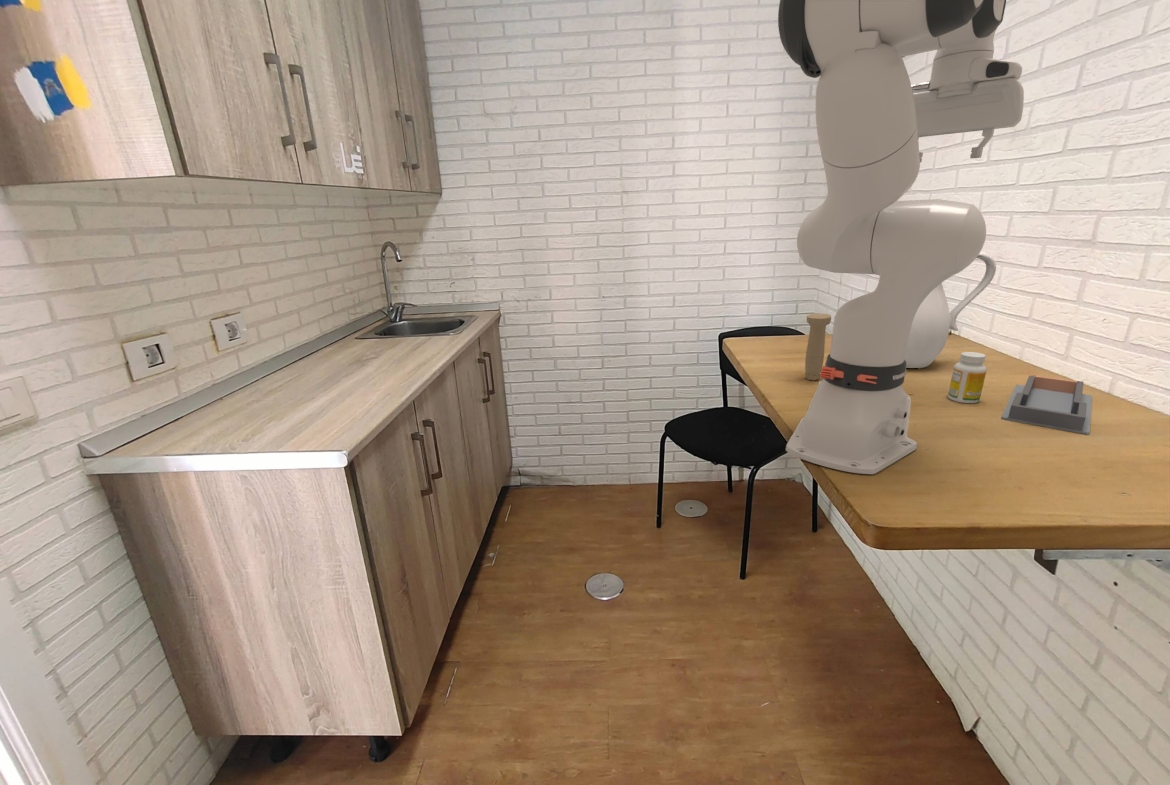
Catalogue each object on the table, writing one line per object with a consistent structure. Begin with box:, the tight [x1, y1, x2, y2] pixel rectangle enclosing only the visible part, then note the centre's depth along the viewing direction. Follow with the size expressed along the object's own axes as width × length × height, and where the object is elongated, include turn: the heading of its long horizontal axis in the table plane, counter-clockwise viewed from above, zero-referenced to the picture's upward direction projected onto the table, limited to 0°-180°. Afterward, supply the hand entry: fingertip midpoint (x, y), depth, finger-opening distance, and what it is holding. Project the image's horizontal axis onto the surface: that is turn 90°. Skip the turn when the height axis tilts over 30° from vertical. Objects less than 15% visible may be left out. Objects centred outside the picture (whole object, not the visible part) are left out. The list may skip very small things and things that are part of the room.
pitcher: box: [904, 251, 997, 369], centre depth 126 cm, size 24×17×28 cm
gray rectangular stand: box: [1000, 374, 1093, 436], centre depth 100 cm, size 24×12×3 cm, turn 137°
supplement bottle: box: [947, 351, 988, 404], centre depth 105 cm, size 5×5×10 cm
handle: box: [804, 312, 832, 381], centre depth 120 cm, size 5×6×15 cm
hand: (944, 160), depth 98 cm, fingers open, 8 cm apart
